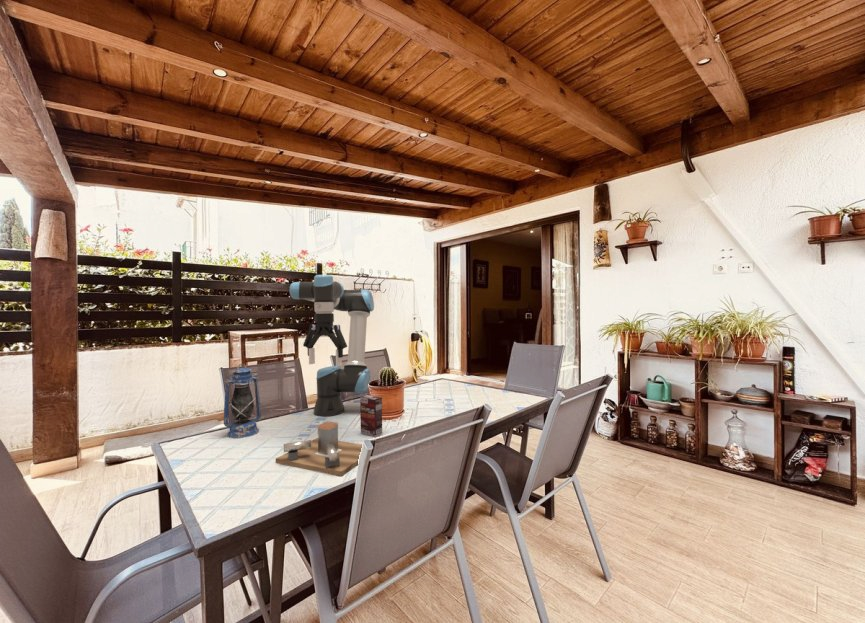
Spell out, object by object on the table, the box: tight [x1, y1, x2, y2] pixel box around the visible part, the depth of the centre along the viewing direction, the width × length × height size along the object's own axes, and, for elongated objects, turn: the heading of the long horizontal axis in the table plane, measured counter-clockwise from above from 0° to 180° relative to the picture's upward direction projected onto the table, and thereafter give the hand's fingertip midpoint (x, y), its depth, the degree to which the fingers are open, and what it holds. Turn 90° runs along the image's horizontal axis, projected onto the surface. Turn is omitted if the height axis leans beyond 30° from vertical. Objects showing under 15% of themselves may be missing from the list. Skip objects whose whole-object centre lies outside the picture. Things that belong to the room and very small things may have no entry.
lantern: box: [223, 363, 262, 439], centre depth 162 cm, size 15×12×30 cm
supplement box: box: [359, 394, 383, 438], centre depth 159 cm, size 9×5×16 cm, turn 58°
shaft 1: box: [283, 439, 312, 461], centre depth 132 cm, size 9×4×5 cm, turn 112°
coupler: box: [317, 421, 339, 455], centre depth 136 cm, size 5×5×10 cm
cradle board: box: [275, 437, 363, 477], centre depth 136 cm, size 22×28×2 cm
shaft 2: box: [325, 443, 340, 469], centre depth 126 cm, size 9×4×5 cm, turn 22°
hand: (325, 364), depth 152 cm, fingers open, 13 cm apart
